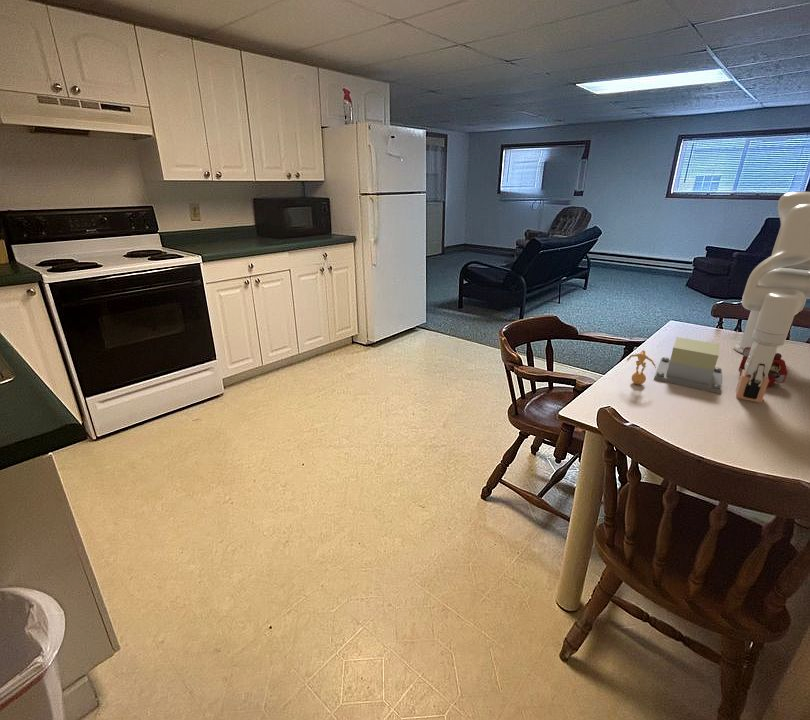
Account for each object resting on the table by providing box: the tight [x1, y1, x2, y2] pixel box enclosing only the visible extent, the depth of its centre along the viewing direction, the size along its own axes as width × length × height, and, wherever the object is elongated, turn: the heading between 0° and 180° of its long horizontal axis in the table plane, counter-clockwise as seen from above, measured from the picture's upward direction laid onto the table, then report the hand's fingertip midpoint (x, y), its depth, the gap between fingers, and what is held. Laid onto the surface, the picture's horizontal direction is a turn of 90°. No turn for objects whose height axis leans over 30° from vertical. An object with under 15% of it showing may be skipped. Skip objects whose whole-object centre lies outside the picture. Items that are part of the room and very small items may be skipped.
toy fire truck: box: [738, 347, 789, 388], centre depth 140 cm, size 7×12×10 cm, turn 42°
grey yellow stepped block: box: [653, 336, 723, 395], centre depth 142 cm, size 18×18×11 cm
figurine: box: [626, 349, 657, 386], centre depth 136 cm, size 8×6×12 cm
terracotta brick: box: [735, 370, 769, 403], centre depth 130 cm, size 6×6×7 cm
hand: (749, 392), depth 131 cm, fingers closed on terracotta brick, 6 cm apart
